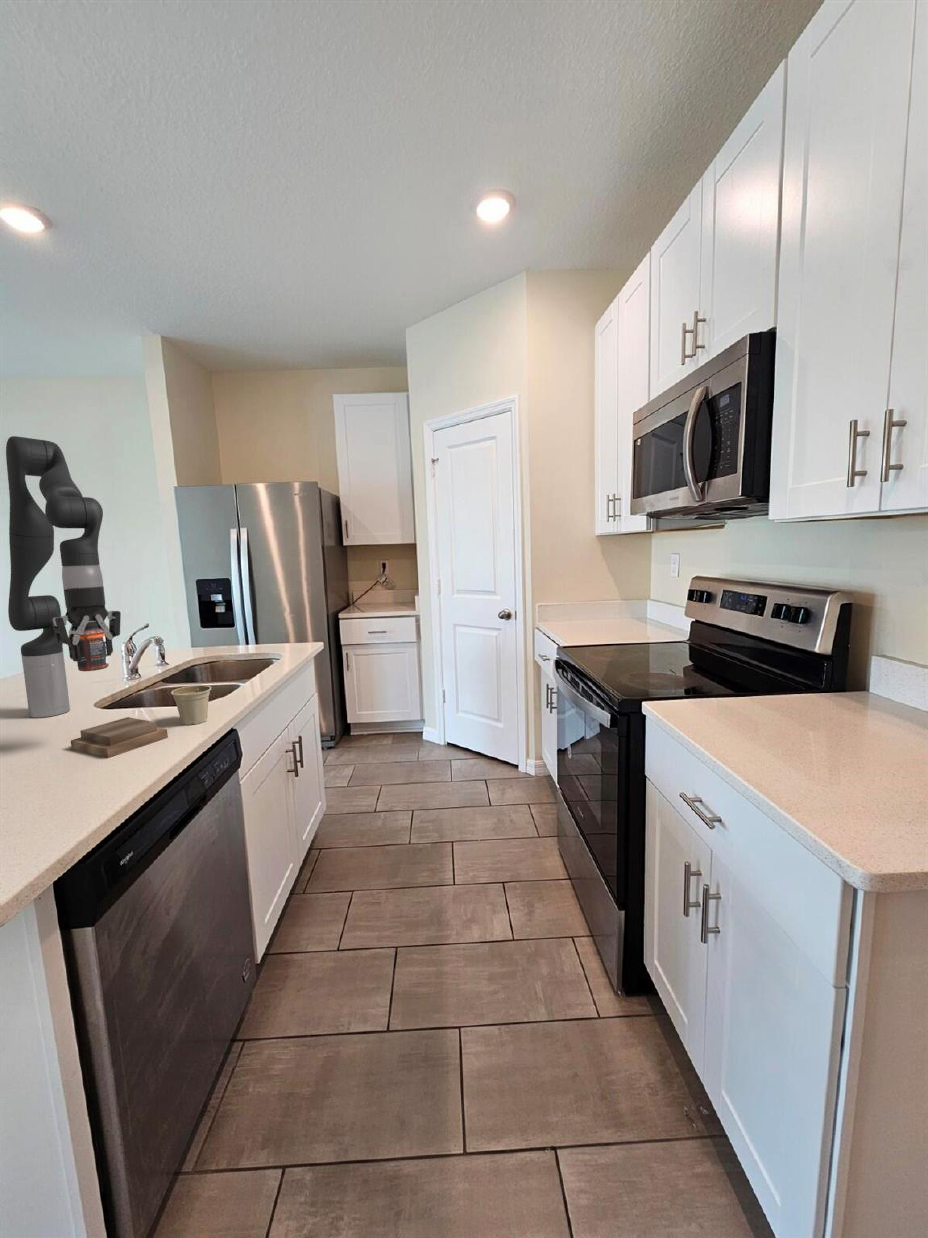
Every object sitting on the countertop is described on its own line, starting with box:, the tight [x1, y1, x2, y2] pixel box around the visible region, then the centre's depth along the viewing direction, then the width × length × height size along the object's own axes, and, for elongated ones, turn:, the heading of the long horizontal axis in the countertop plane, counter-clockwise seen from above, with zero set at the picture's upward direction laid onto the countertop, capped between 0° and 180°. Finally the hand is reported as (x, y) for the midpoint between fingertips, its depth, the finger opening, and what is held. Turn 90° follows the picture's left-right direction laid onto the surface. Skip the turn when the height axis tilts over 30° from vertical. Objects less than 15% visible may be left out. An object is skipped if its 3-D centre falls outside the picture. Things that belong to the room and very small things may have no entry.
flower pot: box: [170, 684, 212, 726], centre depth 142 cm, size 9×9×9 cm
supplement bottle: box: [76, 621, 110, 672], centre depth 125 cm, size 6×6×11 cm
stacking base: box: [70, 716, 169, 759], centre depth 127 cm, size 14×14×4 cm
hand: (92, 658), depth 125 cm, fingers closed on supplement bottle, 6 cm apart
